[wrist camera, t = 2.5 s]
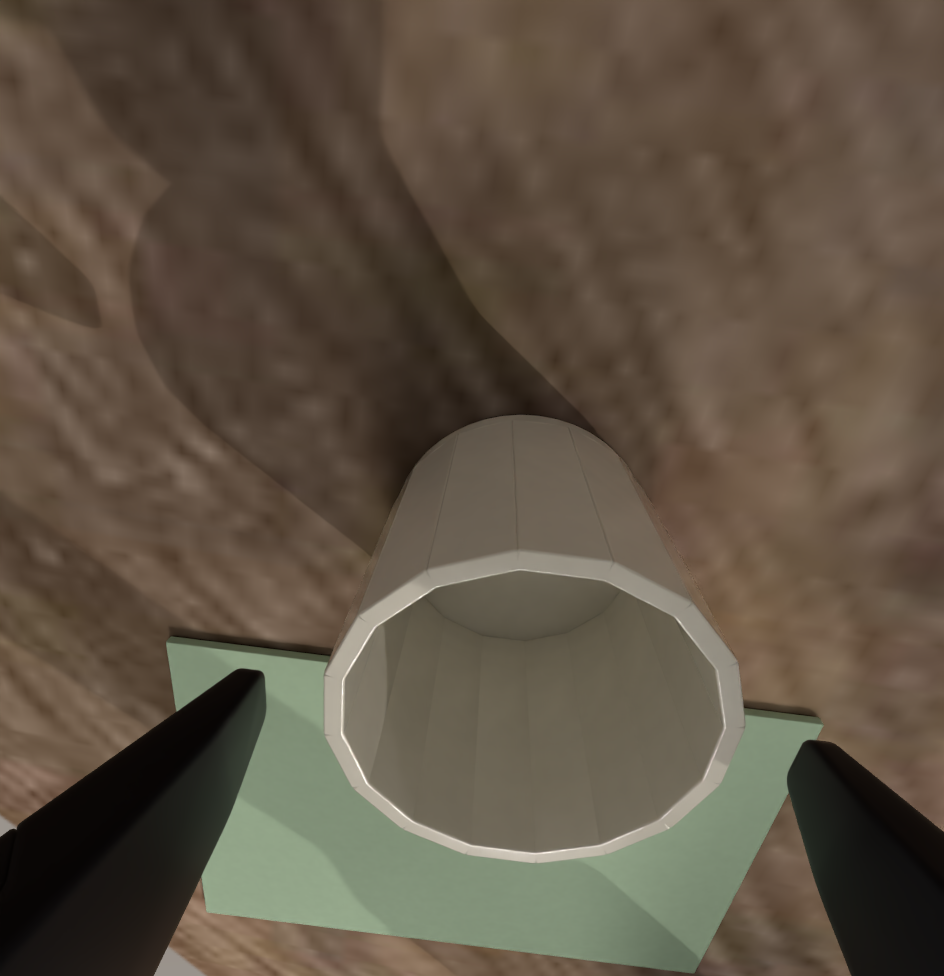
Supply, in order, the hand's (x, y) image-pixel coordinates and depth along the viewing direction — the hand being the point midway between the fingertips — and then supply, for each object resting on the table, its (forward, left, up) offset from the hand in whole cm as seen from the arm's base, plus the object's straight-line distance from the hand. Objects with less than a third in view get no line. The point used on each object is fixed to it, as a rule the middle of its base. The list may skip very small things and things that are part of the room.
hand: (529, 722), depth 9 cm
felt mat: (-12, 0, -6) cm, 13 cm away
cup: (0, 0, -6) cm, 6 cm away
